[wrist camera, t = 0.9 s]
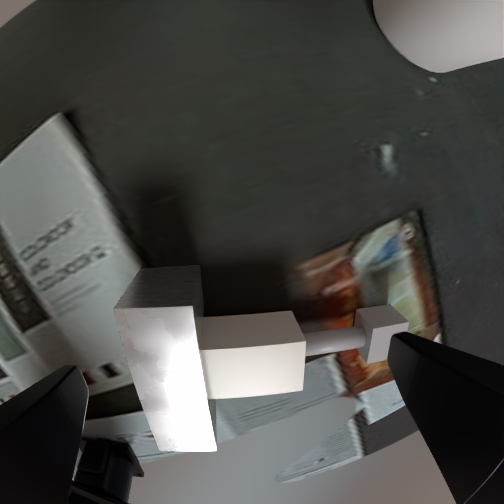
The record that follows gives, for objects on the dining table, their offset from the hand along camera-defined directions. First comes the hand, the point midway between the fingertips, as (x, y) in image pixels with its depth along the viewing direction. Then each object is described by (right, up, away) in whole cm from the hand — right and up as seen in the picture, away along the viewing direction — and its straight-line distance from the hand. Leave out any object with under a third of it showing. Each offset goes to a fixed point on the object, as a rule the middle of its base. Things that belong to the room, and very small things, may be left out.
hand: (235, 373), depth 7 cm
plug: (+3, -3, +14) cm, 15 cm away
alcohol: (+13, +21, +8) cm, 26 cm away
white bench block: (-5, -3, +14) cm, 15 cm away
